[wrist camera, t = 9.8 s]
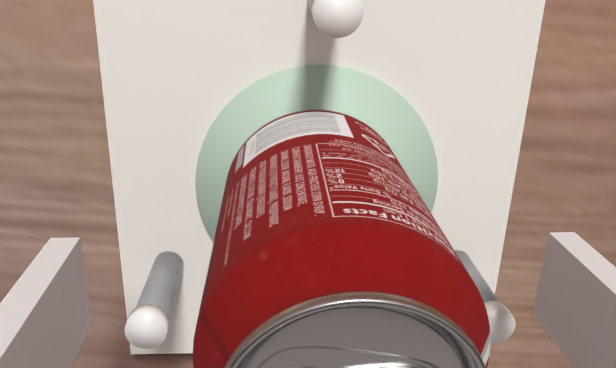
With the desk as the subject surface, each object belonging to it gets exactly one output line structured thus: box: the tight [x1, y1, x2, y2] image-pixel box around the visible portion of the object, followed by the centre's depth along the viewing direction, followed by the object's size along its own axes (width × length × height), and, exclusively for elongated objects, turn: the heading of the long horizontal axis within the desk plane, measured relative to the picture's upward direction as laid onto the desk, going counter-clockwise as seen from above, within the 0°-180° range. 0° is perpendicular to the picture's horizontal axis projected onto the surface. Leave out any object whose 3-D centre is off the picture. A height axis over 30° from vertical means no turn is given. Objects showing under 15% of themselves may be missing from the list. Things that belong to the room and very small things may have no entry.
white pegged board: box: [93, 0, 545, 354], centre depth 21 cm, size 16×16×6 cm
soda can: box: [193, 109, 491, 368], centre depth 17 cm, size 7×7×12 cm
